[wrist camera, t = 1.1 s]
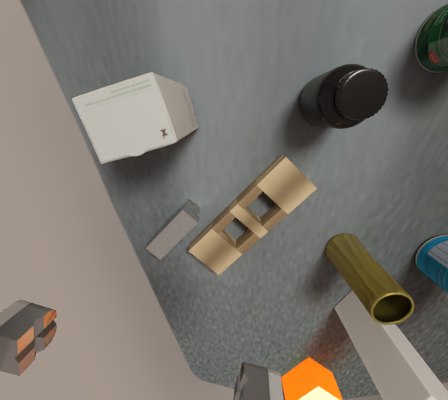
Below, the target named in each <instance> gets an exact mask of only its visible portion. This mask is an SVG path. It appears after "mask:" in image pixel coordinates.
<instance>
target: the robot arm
mask: <svg viewBox="0 0 448 400" xmlns="http://www.w3.org/2000/svg"><path fill="white" fill-rule="evenodd" d="M55 318H56V310H53V309H50V308H46V307H43V306H40V305H37V304H33V303H30V302H27V301H23V300H19V301H16V302H15V303H13V304H12V305H11V306H9V307H8V308H7V309H5V310H4V311H3V312H1V313H0V371H3V372H7V373H11V374H15V375H19V376H20V375H21V374H22V373H23V371H25V370H26V368H27V367H28V366H29V365H30V364H31V363H32V362H33V361H34V360H35V356H36V353H37V352H39V351H42V350H44V349H45V348H46V347H47V346H48V344H49V343H50V342H51V340H52V339H53V337H54V335H55V332H56V326H57V325H56V323H55V322H54V319H55ZM233 400H283V392H282V383H281V375H280V373H279V372H278V371H275V370H271V369H267V368H265V367H261V366H257V365H253V364H250V363H246V362H243V363H242V366H241V370H240V375H238V377H237V380H236V384H235V389H234V399H233Z"/></svg>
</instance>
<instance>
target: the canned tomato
mask: <svg viewBox="0 0 448 400" xmlns="http://www.w3.org/2000/svg"><path fill="white" fill-rule="evenodd" d="M414 51H415V57H416V60H417V62H418V63H419V65H420V66H421V67H422V68H423V69H425V70H427V71H429V72H433V73H440V72H445V71H448V4H447V5H445V6H442V7H440V8H439V9H437V10H436V11H434V12H433V13H432V14H431V15H430V16H429V17H428V18H427V19H426V20H425V21H424V23H423V24H422V26H421V27H420V29H419V31H418V34H417V36H416V40H415V48H414Z"/></svg>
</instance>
